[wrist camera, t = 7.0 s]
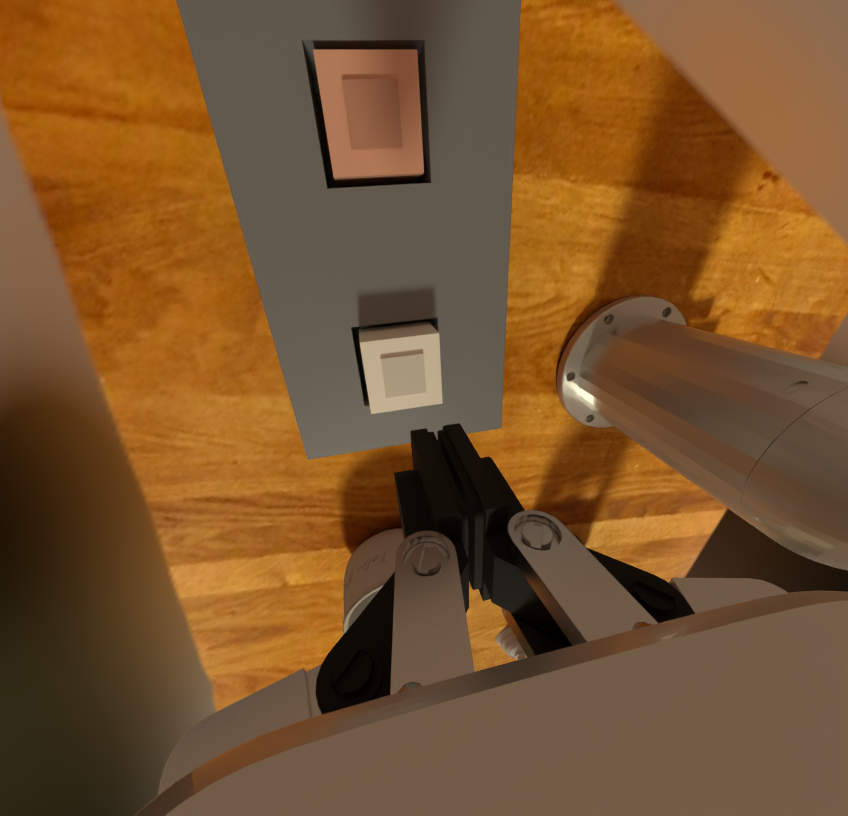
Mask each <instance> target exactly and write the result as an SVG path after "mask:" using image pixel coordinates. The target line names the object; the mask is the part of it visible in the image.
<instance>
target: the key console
mask: <svg viewBox="0 0 848 816" xmlns="http://www.w3.org/2000/svg"><path fill="white" fill-rule="evenodd" d="M177 4H178V7H179V11H180V14H181V18H182V21H183V25H184V28H185V32H186V35H187V39H188V42H189V46H190V49H191V53H192V56H193V60H194V63H195V67H196V70H197V74H198V77H199V81H200V84H201V88H202V91H203V95H204V98H205V102H206V105H207V109H208V112H209V116H210V119H211V123H212V126H213V130H214V133H215V137H216V140H217V144H218V147H219V151H220V154H221V158H222V161H223V165H224V168H225V172H226V175H227V179H228V182H229V186H230V189H231V193H232V196H233V200H234V203H235V207H236V210H237V214H238V217H239V221H240V224H241V228H242V231H243V235H244V238H245V242H246V245H247V249H248V252H249V256H250V259H251V263H252V266H253V270H254V274H255V277H256V281H257V284H258V288H259V291H260V295H261V298H262V302H263V305H264V309H265V312H266V316H267V319H268V323H269V326H270V330H271V333H272V337H273V340H274V344H275V347H276V351H277V354H278V358H279V361H280V365H281V368H282V372H283V375H284V379H285V382H286V386H287V389H288V393H289V396H290V400H291V403H292V407H293V410H294V414H295V417H296V421H297V424H298V428H299V431H300V435H301V438H302V442H303V445H304V449H305V452H306V456H307V459H314V458H321V457H327V456H333V455H339V454H345V453H351V452H357V451H363V450H369V449H375V448H382V447H388V446H394V445H400V444H406V443H411V436H410V431H411V430H418V429H424V428H427V430H428V432H434V434H435V436H436V438H438V435H437V433H438V431H439V430H443V426H444V425H450V424H457V423H460V425H461V426H462V428H463V430H464V431H465V433H466V434H467V433H473V432H479V431H485V430H491V429H498V428H501V419H502V398H503V376H504V355H505V333H506V312H507V290H508V269H509V247H510V226H511V205H512V183H513V162H514V140H515V119H516V97H517V76H518V54H519V33H520V12H521V0H177ZM313 50H417V55H418V73H419V91H420V109H421V127H422V144H423V162H424V173H423V174H422V175H421V176H420V177H419V178H418V179H417V180H416V181H415V182H405V183H387V184H369V185H350V186H336V183H335V180H334V176H333V170H332V164H331V158H330V152H329V145H328V139H327V133H326V127H325V121H324V114H323V108H322V102H321V96H320V90H319V83H318V77H317V71H316V65H315V59H314V52H313ZM419 322H429V323H430V324H431V325H432V326H433V327H434V328H435V329H436V330H437V331H438V332H439V339H440V360H441V381H442V402H443V404H436V405H429V406H422V407H416V408H409V409H402V410H396V411H389V412H382V413H376V414H371V410H370V404H369V397H368V391H367V385H366V379H365V373H364V367H363V360H362V354H361V348H360V341H359V329H366V328H375V327H384V326H393V325H401V324H410V323H419Z"/></svg>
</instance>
